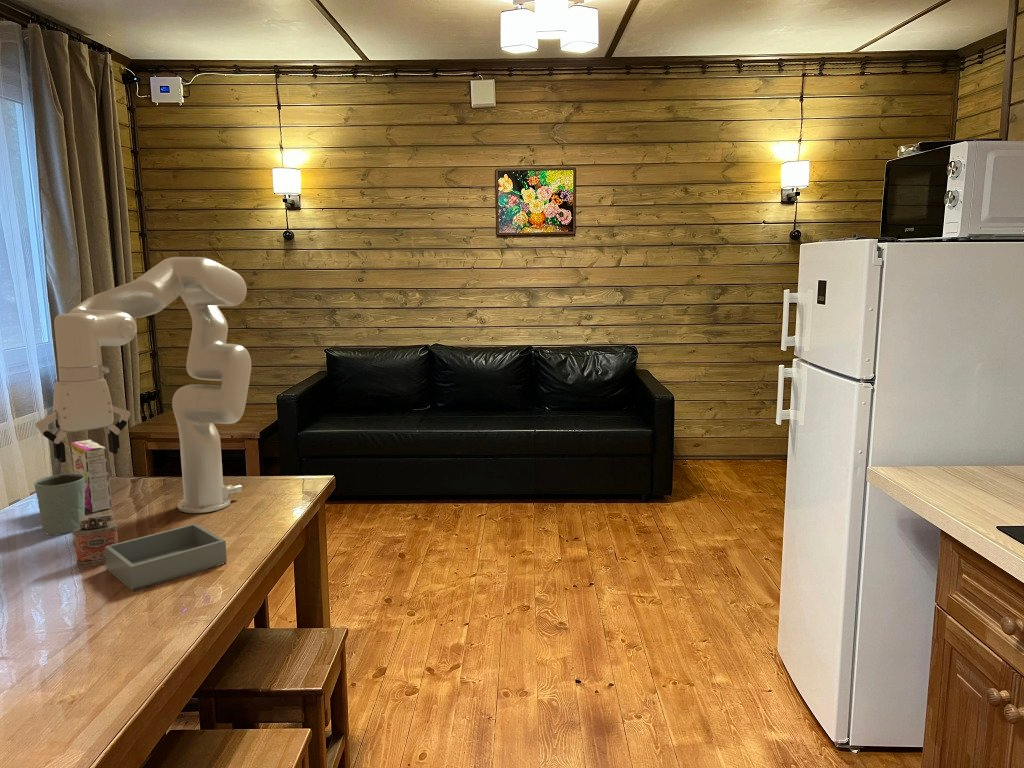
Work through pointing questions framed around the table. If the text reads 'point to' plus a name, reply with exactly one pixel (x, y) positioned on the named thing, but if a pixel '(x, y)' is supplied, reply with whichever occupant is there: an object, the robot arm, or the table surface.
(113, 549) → the bin
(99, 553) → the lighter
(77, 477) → the green plant pot
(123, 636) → the table surface
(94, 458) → the candy bar box
